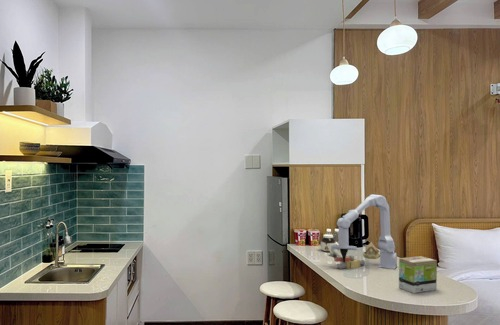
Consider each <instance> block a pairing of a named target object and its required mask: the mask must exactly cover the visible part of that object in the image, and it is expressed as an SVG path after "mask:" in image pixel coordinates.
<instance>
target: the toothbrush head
mask: <svg viewBox="0 0 500 325" xmlns="http://www.w3.org/2000/svg"><path fill="white" fill-rule="evenodd" d="M329 255H330V257H334V258H340V257H342V254H341V252H340V251H338V250H337V249H331V250H330V253H329ZM346 257H349V255H348V256H347V255H346Z"/></svg>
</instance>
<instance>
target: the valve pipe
mask: <svg viewBox="0 0 500 325" xmlns="http://www.w3.org/2000/svg"><path fill="white" fill-rule="evenodd" d="M365 265H366V261H365V259H357V258H354V261H345V262H343V261H341V263H337V265H336V268H337V269H338V270H342V269H347V270H349V269H350V270H352V269H357V268H360V267H361V266H365Z"/></svg>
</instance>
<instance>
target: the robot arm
mask: <svg viewBox="0 0 500 325" xmlns="http://www.w3.org/2000/svg"><path fill="white" fill-rule="evenodd" d="M369 207H376V208H378V210H379V216H380V217H379V218H380V219H379V220H380V221H379V222H380V236H379V237H378V243H377V247H378V248H379V254H380V256H379V265H378V267H379V268H386V269H392V270H396V268H397V267H398V254H397V252H394V251H395V250H396V245H395V242H394V239H393V237H392V236H391V217H390V216H391V215H390V212H391V210H390V204H389V203H388V201H387V197H385V196H384V195H381V194H373V193H372V194H370V195H369V196H367V197H366V198H365V200H363V202H361V203H360V204H358V206H357V207H356V208H354V209H349V210H348V212H347V213H346V214H344V215H342V217H339V218H338V219H337V222H336V226H337V227H338V244H339V245H331V249H340V252H341V254H342V257H343V262H345V257H346V256H347V254H348V251H357V250H358V247H357V246H354V245H349V243H350V242H349V238H350V236H349V235H350V234H349V228H350V227H351V224H352V223H353V222H354V221H355V220H357V219H359V214H360V213H362V212H363V211H365V210H366V209H368V208H369Z"/></svg>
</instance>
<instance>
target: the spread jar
mask: <svg viewBox="0 0 500 325" xmlns="http://www.w3.org/2000/svg"><path fill="white" fill-rule="evenodd" d="M331 245H339V242H337V241H336V239H335V238H334V235H333V234H326V233H325V234H323V237H322V238H321V240H320V249H321V252H322V251H323V252H324V253H327V254H328V253H329V254H330V250H331ZM337 250H338V251H340V249H337Z"/></svg>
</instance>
